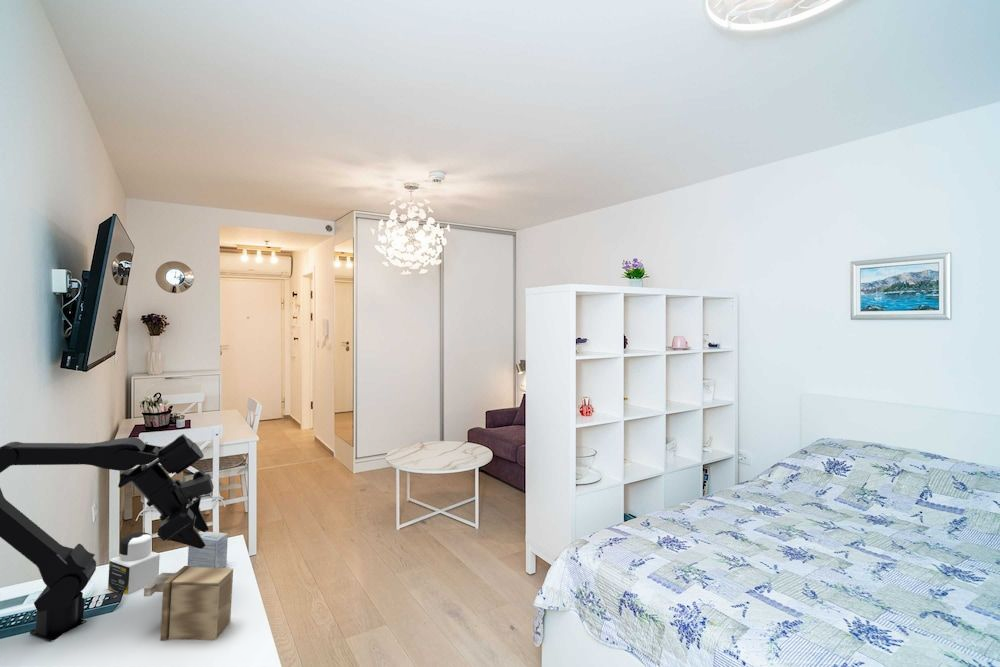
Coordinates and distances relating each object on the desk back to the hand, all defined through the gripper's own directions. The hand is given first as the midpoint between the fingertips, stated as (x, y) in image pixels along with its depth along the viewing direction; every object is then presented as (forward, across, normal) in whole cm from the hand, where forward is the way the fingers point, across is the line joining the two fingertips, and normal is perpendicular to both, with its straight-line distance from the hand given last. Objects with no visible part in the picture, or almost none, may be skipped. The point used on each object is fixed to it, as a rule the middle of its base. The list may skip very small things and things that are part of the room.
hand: (205, 538), depth 109 cm
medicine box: (+12, +18, +9) cm, 23 cm away
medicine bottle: (+3, +14, +21) cm, 26 cm away
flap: (+8, -9, +13) cm, 18 cm away
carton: (+12, -12, +8) cm, 19 cm away
